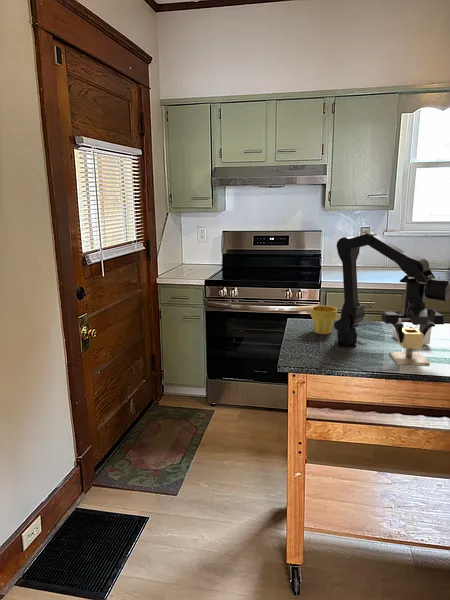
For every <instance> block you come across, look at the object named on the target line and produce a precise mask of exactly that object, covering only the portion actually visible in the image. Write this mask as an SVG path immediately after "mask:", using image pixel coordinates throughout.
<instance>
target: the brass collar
mask: <svg viewBox="0 0 450 600" xmlns="http://www.w3.org/2000/svg"><path fill="white" fill-rule="evenodd" d="M423 337H424V334H423V333H422V332H421V331H420V330H419V329H418V328H416V329H408V327H403V328H402V342H401V343H400V342H399V339H397V343H398V344H399V345H400V346H401V348H403V349H406V348H413V349H415V350H416V349H418V350H419V349H423V346H424V345H423Z"/></svg>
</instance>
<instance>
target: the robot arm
mask: <svg viewBox="0 0 450 600" xmlns="http://www.w3.org/2000/svg"><path fill="white" fill-rule="evenodd" d="M366 246H369V247H370V248H372V249H374V250H376V251H377V252H378V253H379V254H381V255H383V256H385V257H386V258H388V259H389V260H391V261H393V262H394V263H395V264H397V265H398V267H399V268H400V269H401V270H402V272H404V274H406V275H404V277H402V278H401V279H399V283H402V284H403V283H405V294H404V297H403V302H404V303H403V309H402V312H401V313H402V314H398V313H396V312H395V311H386V310H385V311H383V312H382V313H381V316H380V317H381V318H380V319H381V320H382V322H384V324H387V325H392V326H393V327H394V328H395V330H396V333H397V336H398V339H399V342H400V343H401V342H402V328H404V324H403V323H402V321H410V322H411V324H412V326H413V325H414V326H419V329H418V330H420V331H421V332H422V333H423V334H424V336H425V334H426V333H427V331H428V330H429V329H430V328H431V329H432V328H433V327H434V328H435V326H436V325H445V321H446V318H445V316H444V315H443V314H441V313H440V312H438V311H436V310H435V309H434V308H433V309H432V308H427V309H426V303H425V300H424V299H425V298H426V299H428V300H432V301H437V302H445V303H448V302H449V300H450V279H439V278H438V279H437V278H436V277H435V275H434V273H433V272H432V270H431V269H430V263H429V261H428V260H427V259H426V258H424V257H421V256H418V255H416V254H412V253H408V252H406V251H404V250H402V249H401V248H399V247H398V246H396V245H395V244H393V243H391V242H389V241H388V240H386V239H384V238H383V237H381V236H380V235H378V234H377V233H376V232H367V233H366V232H365V233H364V234H362V235H358V236H352V235H351V236H343V237H340V238H339V240H337V241H336V250H337V255H338V258H339V260H340V261H341V263H342V281H343V296H344V297H343V298H344V299H343V300H344V301H343V305H342V307H341V312H340V318H339V319H338V320H336V322H335V321H334V324H333V328H334V330H336V339H335V340H334V341H335V343H336V345H337V347H349V348H350V347H352V348H353V347H357V343H358V342H357V340H358V333H357V329H356V328H358V327H359V324H361V323H362V322H363V321H364V317H365V316H366V313H365V305H364V304H363V305H362V304H360V301H359V295H358V294H359V293H358V291H359V290H358V276H357V275H358V274H357V273H358V272H357V260H358V257H359V255H360V251H361V250H360V249H361V248H363V247H366ZM423 338H424V337H423ZM398 339H397V340H398Z"/></svg>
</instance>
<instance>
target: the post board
mask: <svg viewBox="0 0 450 600" xmlns="http://www.w3.org/2000/svg"><path fill="white" fill-rule="evenodd" d="M405 349H406V350H405V351H389V353H388V354H389V356H390V357H391V359H393V360H394V361H395V363H396V364H397V365H398V366H399V365H403V366H405V365H407V366H430V365H431V364H430V361H428V360H427V358H426V357H425V356H423V355H422V354H421V352H419V351H417V352H416V351H415V352H414V351H413V350H414V348H405Z"/></svg>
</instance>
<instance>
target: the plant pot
mask: <svg viewBox="0 0 450 600" xmlns="http://www.w3.org/2000/svg"><path fill="white" fill-rule="evenodd" d="M310 317H311V318H312V324H313V330H314V331H313V332H314V333H316V334H319V335H329V333H330V334H331V333H332V331H333V328H334V323H335V320H336V319H337V318H338V309H337V308H336V307H333V306H330V305H315V306H312V307H311V309H310Z"/></svg>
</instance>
